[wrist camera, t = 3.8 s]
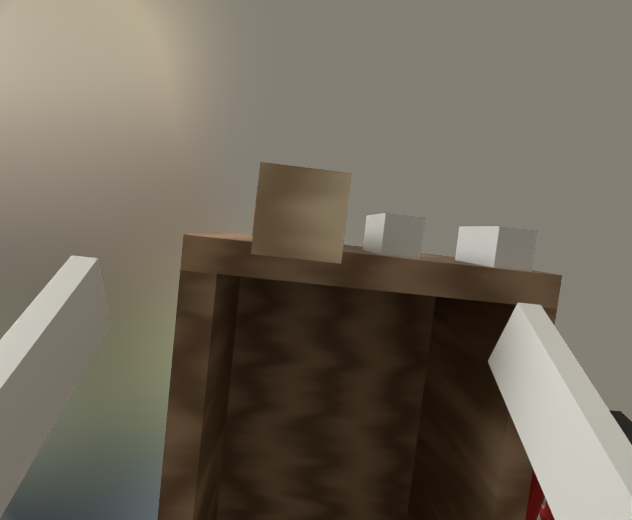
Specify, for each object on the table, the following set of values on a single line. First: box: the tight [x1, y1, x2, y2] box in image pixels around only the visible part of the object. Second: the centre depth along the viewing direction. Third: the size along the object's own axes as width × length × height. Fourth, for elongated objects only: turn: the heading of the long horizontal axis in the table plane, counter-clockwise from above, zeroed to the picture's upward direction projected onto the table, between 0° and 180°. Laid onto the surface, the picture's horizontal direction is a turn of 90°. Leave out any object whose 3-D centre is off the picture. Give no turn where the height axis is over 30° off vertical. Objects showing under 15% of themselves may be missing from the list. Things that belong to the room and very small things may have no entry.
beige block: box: [251, 162, 351, 264], centre depth 27 cm, size 6×25×4 cm, turn 4°
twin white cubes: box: [363, 213, 537, 271], centre depth 29 cm, size 9×6×2 cm, turn 94°
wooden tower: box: [158, 232, 562, 520], centre depth 34 cm, size 22×16×30 cm
